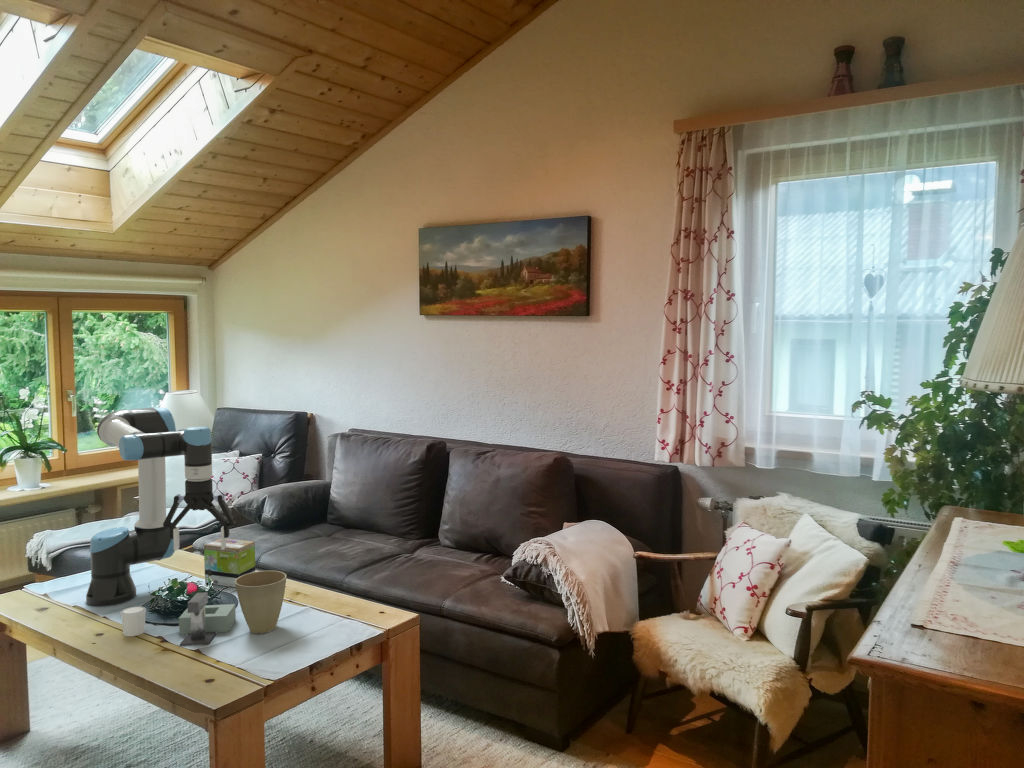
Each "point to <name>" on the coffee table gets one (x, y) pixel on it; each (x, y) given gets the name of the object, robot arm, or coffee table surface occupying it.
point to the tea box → (228, 561)
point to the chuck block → (211, 619)
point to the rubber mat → (204, 641)
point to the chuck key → (198, 615)
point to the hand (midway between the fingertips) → (200, 548)
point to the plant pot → (261, 599)
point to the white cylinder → (133, 620)
